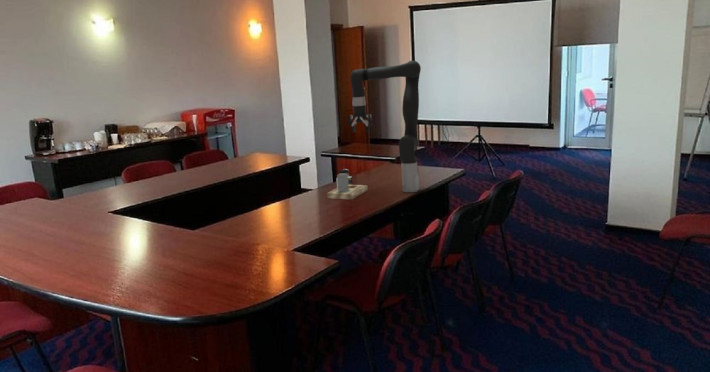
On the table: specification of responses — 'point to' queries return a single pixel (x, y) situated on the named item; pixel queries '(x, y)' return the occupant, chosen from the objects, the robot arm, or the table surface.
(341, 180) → the metal block
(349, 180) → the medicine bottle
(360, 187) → the pocket board
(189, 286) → the table surface
